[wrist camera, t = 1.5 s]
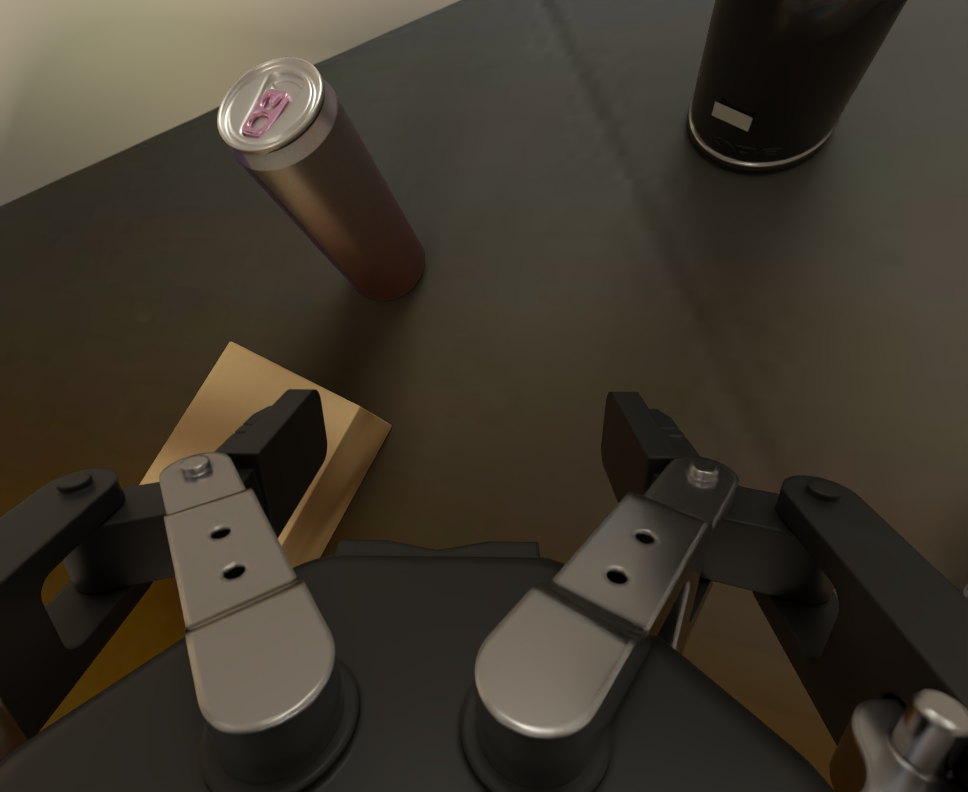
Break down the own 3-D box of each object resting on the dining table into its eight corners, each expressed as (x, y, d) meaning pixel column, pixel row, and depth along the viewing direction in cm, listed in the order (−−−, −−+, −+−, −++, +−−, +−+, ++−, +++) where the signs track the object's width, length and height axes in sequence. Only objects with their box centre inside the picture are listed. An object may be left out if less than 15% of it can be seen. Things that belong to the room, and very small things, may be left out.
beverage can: (341, 290, 37) (191, 137, 23) (378, 227, 38) (255, 44, 24) (404, 315, 36) (282, 165, 21) (441, 248, 37) (347, 63, 23)
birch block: (276, 366, 37) (229, 340, 32) (393, 425, 33) (360, 406, 29) (195, 498, 35) (134, 491, 30) (310, 575, 31) (261, 581, 27)
